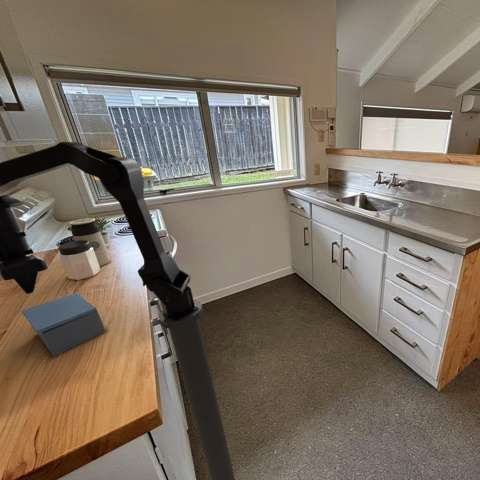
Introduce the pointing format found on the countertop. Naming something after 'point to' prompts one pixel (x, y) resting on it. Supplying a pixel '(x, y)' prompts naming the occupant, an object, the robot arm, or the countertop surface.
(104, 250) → the travel mug
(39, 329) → the lid
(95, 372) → the countertop surface
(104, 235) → the house plant
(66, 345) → the chest
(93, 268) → the jar
